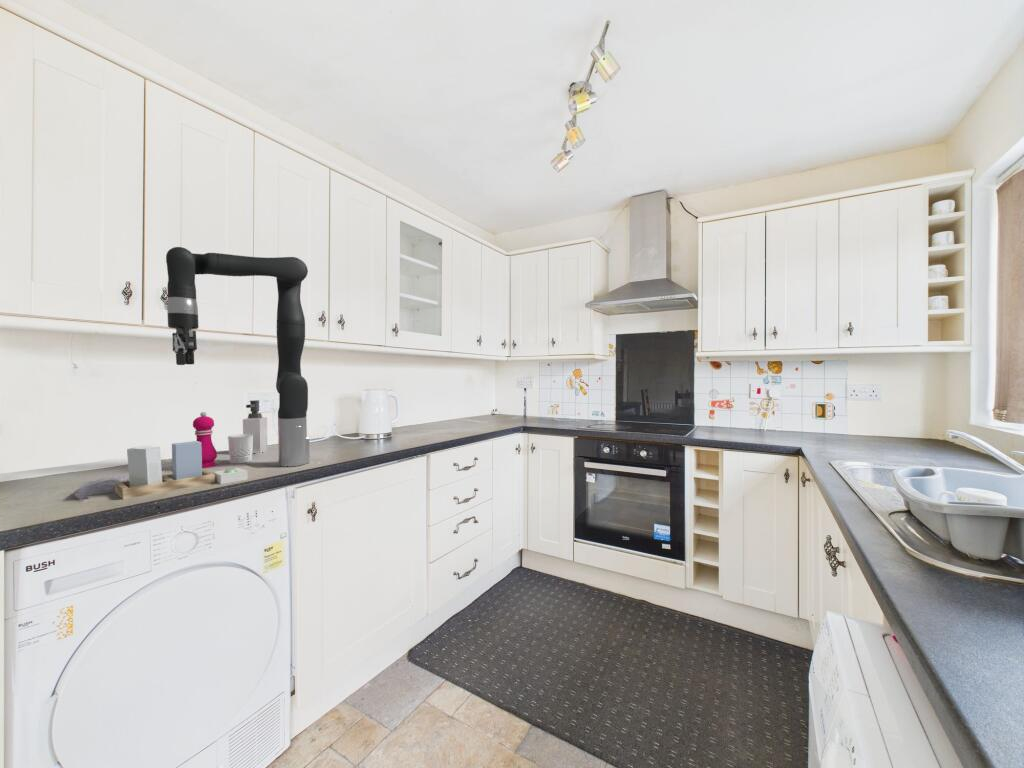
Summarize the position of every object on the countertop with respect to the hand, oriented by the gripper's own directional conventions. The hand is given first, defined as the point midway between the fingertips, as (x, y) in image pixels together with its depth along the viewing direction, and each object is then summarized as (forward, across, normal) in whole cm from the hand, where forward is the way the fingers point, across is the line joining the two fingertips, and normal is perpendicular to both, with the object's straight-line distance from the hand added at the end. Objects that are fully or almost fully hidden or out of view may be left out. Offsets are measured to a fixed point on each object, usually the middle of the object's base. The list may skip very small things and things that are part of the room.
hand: (185, 364), depth 129 cm
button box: (+36, -17, -5) cm, 41 cm away
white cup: (+37, +14, -19) cm, 44 cm away
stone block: (+36, 0, +20) cm, 42 cm away
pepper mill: (+36, +12, -7) cm, 39 cm away
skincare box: (+35, -12, +13) cm, 39 cm away
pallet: (+36, -12, +9) cm, 39 cm away
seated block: (+35, -12, +4) cm, 37 cm away
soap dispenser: (+37, +28, -30) cm, 55 cm away
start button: (+35, -17, -5) cm, 39 cm away
